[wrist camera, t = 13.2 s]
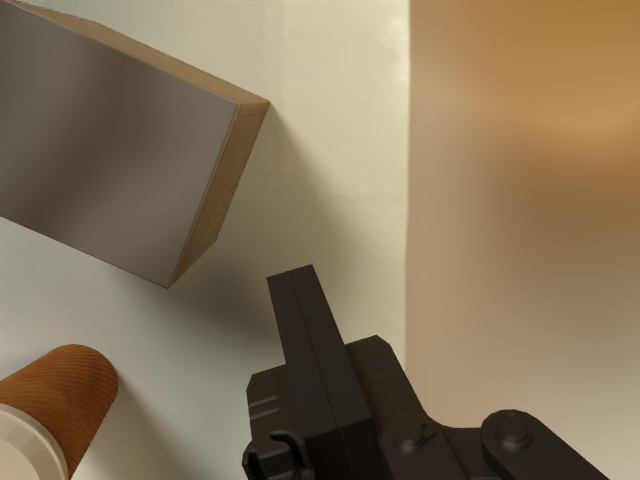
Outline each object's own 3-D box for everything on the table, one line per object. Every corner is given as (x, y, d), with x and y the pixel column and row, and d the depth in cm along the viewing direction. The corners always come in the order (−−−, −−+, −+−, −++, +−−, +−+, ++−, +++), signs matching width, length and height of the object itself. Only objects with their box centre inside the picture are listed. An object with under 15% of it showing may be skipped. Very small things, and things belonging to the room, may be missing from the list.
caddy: (51, 169, 37) (-41, 191, 29) (93, 21, 34) (5, -3, 26) (215, 241, 38) (173, 284, 29) (271, 101, 35) (242, 104, 26)
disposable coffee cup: (160, 409, 42) (84, 529, 30) (61, 446, 43) (-46, 574, 32) (99, 306, 40) (-7, 394, 28) (-2, 350, 41) (-141, 449, 30)
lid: (-56, 185, 29) (-67, 187, 28) (-12, -11, 26) (-23, -14, 25) (173, 284, 29) (168, 289, 28) (242, 104, 26) (238, 104, 25)
